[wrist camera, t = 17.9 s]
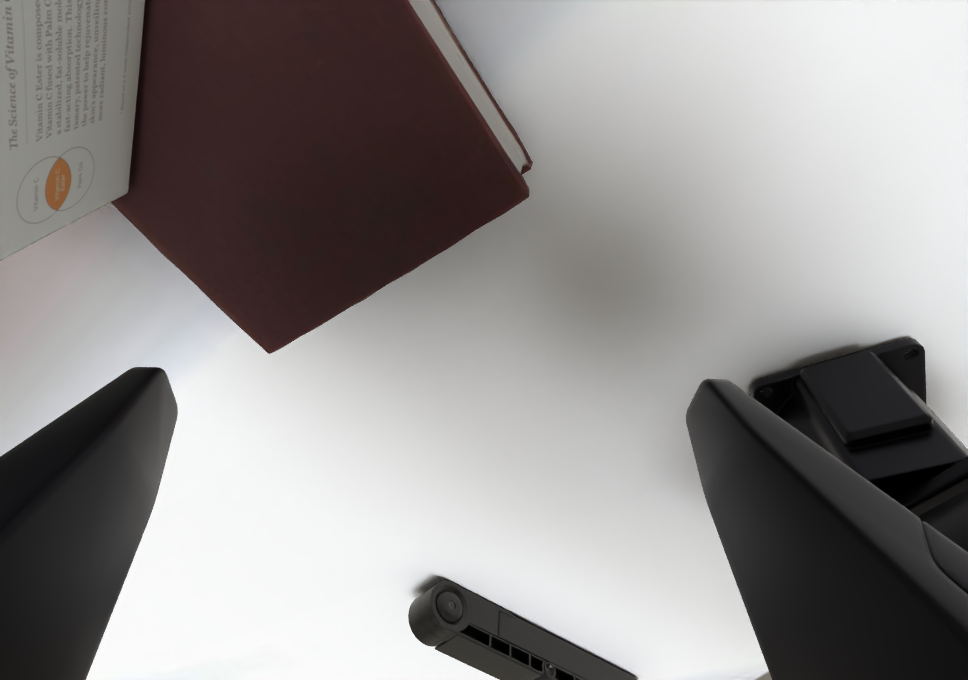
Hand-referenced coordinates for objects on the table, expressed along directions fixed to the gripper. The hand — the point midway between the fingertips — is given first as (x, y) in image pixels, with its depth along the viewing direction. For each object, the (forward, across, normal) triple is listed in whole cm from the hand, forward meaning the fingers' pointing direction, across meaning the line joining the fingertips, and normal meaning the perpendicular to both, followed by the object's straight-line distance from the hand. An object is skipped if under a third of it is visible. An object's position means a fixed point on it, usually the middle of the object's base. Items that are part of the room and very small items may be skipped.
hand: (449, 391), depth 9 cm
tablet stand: (+9, -8, +31) cm, 34 cm away
